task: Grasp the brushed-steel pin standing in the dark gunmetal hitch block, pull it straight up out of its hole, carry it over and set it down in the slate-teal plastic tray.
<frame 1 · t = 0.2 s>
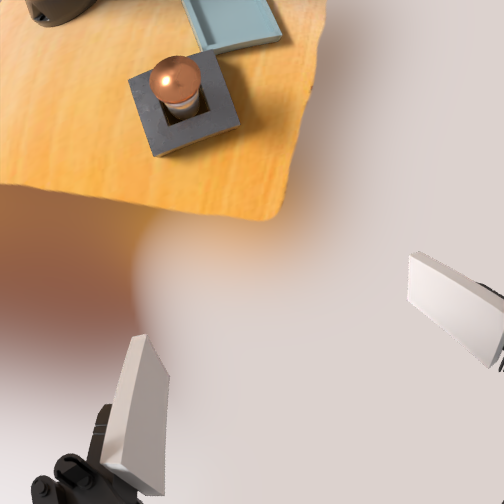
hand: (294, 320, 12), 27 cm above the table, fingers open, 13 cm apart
pin: (180, 94, 26), in the hitch block
hitch block: (184, 105, 32), on the table
tray: (226, 13, 28), on the table
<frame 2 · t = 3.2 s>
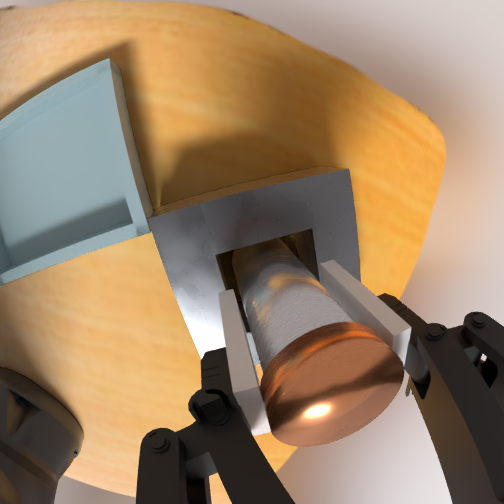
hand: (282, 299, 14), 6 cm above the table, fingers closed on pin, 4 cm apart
pin: (286, 307, 13), in the hitch block, touching gripper
hitch block: (260, 260, 19), on the table
tray: (49, 179, 15), on the table
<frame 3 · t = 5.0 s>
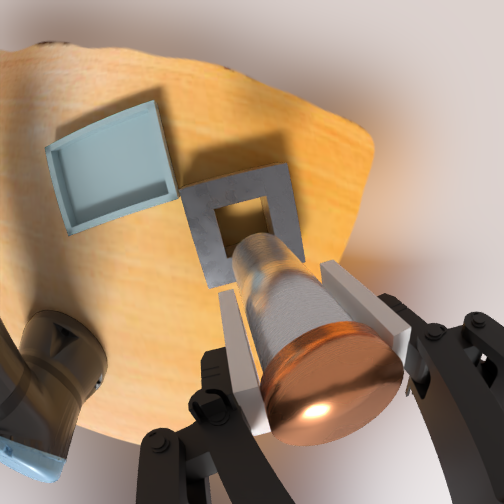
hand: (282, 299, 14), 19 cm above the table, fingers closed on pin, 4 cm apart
pin: (286, 307, 13), point 20 cm above the table, touching gripper
hitch block: (241, 219, 32), on the table
tray: (111, 168, 27), on the table
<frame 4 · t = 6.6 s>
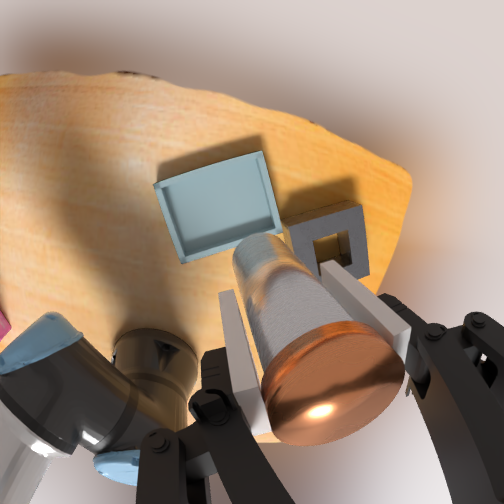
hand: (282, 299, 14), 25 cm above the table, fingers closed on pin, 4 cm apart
pin: (287, 306, 13), point 25 cm above the table, touching gripper
hitch block: (322, 244, 41), on the table
tray: (218, 204, 36), on the table
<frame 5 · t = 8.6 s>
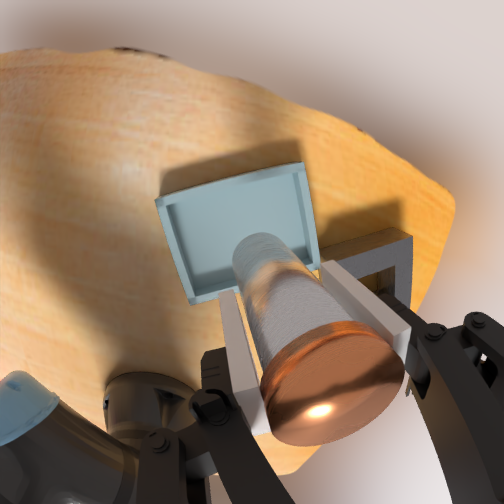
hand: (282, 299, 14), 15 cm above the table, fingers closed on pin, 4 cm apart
pin: (286, 306, 13), point 16 cm above the table, touching gripper
hitch block: (360, 279, 33), on the table
tray: (240, 229, 28), on the table
when the fingers open (8 cm above the table, at t = 10.2 s): pin drops 2 cm, resting on tray.
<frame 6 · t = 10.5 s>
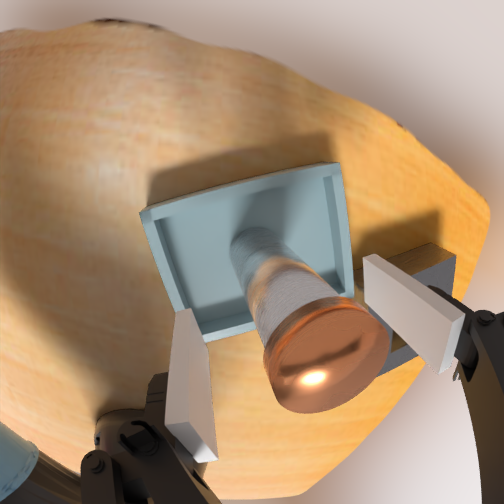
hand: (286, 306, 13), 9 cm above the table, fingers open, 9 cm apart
pin: (282, 292, 15), in the tray, point 7 cm above the table
hitch block: (392, 303, 26), on the table
tray: (254, 249, 22), on the table
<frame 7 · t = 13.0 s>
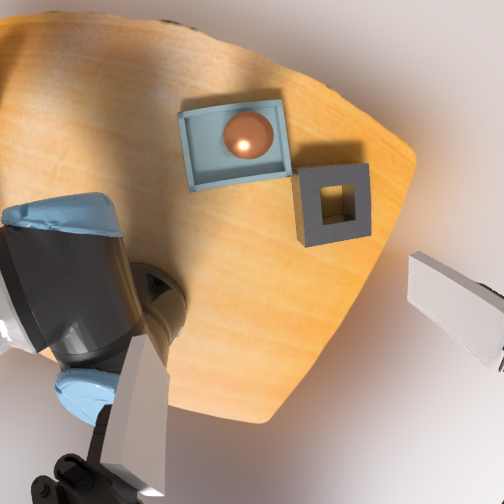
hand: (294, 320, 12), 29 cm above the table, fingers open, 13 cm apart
pin: (240, 140, 30), in the tray, point 7 cm above the table
hitch block: (327, 200, 41), on the table
tray: (234, 144, 36), on the table
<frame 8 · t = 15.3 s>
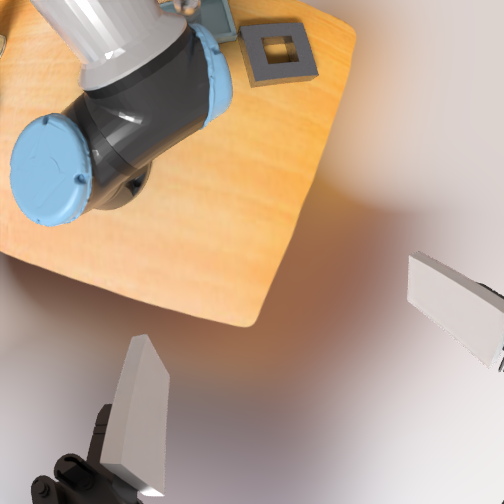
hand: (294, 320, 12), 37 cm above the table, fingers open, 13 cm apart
pin: (187, 5, 28), in the tray, point 7 cm above the table
hitch block: (274, 57, 39), on the table
tray: (190, 24, 34), on the table
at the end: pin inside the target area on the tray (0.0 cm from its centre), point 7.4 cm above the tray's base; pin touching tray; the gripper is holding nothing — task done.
